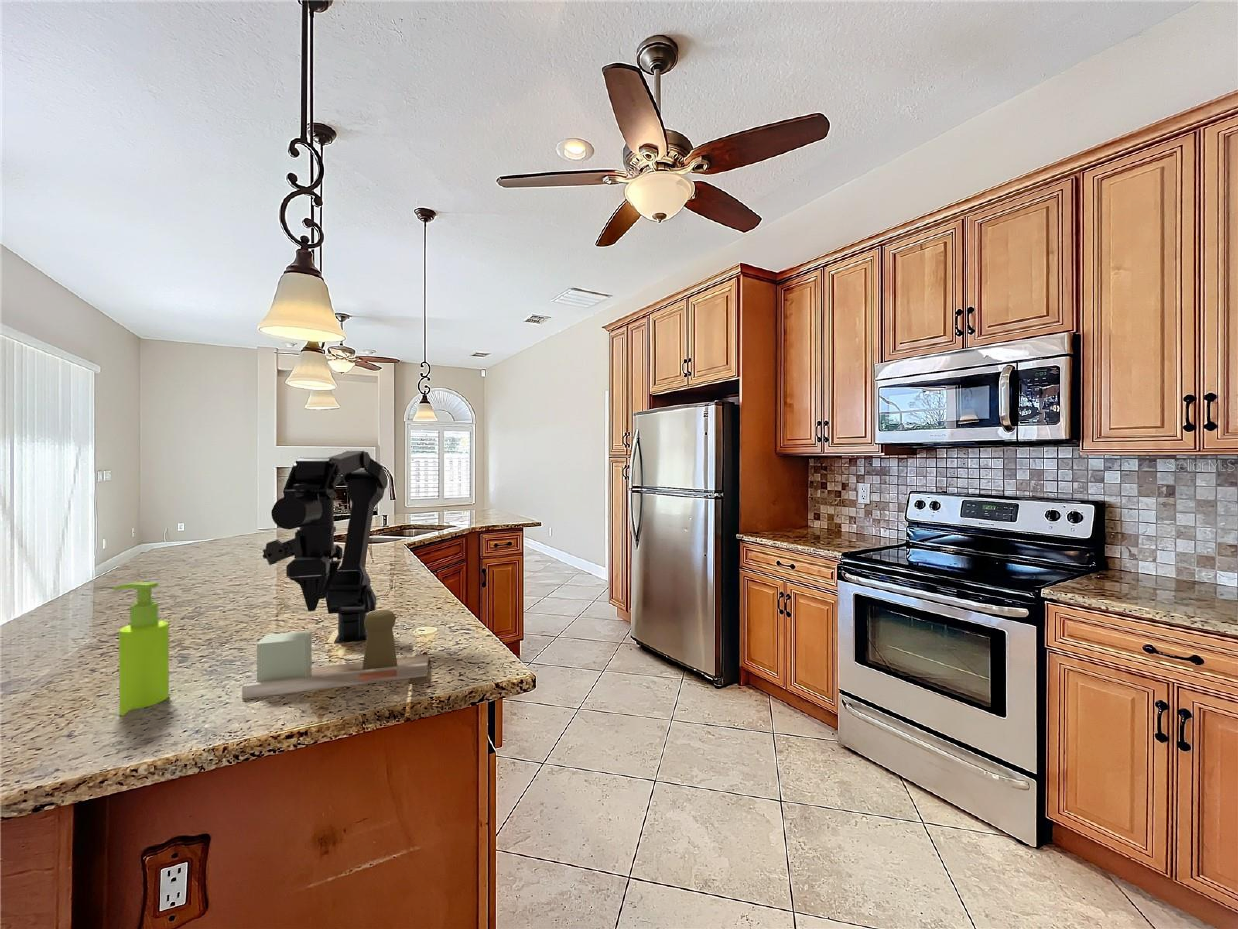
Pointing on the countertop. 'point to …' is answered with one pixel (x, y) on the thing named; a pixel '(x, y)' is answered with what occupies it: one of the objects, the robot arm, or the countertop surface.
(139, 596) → the soap dispenser
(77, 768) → the countertop surface
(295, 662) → the sage tin
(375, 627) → the cork
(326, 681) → the shelf board
